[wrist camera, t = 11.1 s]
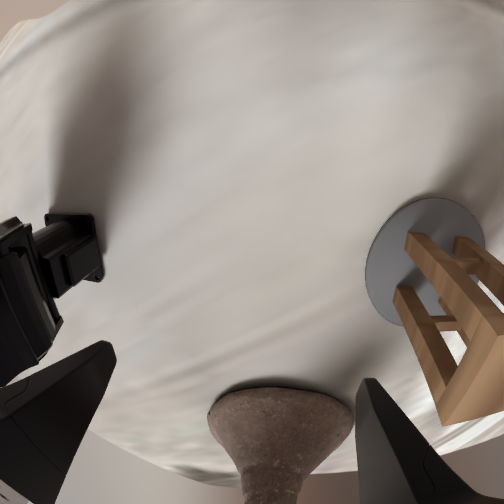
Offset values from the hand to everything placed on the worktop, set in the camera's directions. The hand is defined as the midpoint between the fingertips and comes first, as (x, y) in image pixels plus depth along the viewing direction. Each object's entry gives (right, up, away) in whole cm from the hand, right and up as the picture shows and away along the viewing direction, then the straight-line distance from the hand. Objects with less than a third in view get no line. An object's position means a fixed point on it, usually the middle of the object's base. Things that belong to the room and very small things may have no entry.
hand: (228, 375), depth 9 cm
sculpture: (+4, -16, +21) cm, 27 cm away
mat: (+15, +3, +11) cm, 18 cm away
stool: (+15, +3, +10) cm, 18 cm away
